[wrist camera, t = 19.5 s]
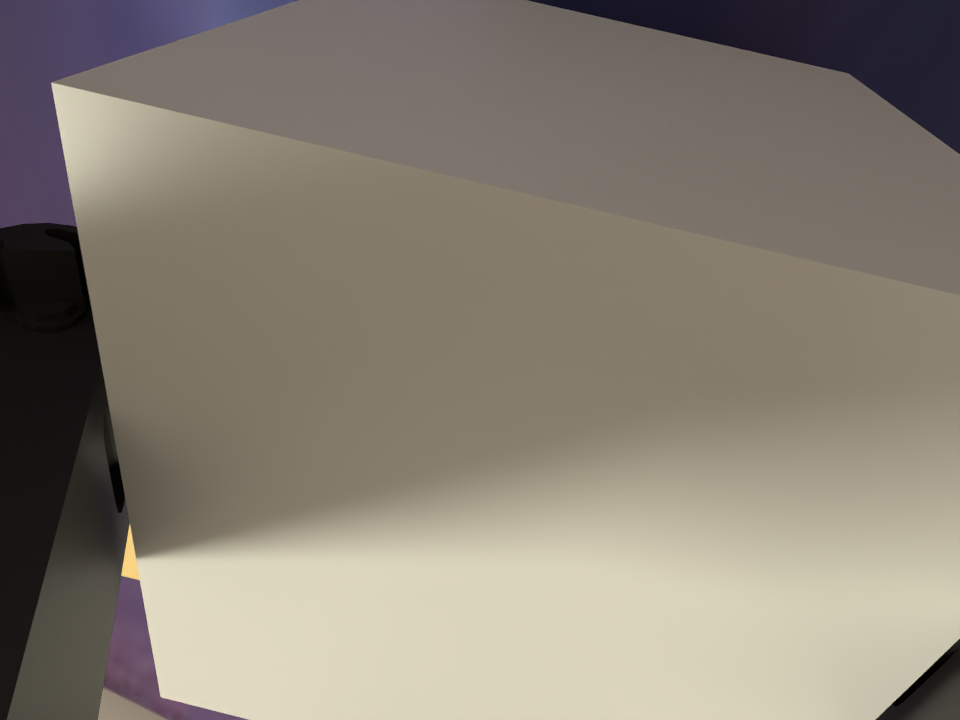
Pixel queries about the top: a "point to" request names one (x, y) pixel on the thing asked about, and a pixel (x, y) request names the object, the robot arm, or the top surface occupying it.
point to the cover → (522, 367)
